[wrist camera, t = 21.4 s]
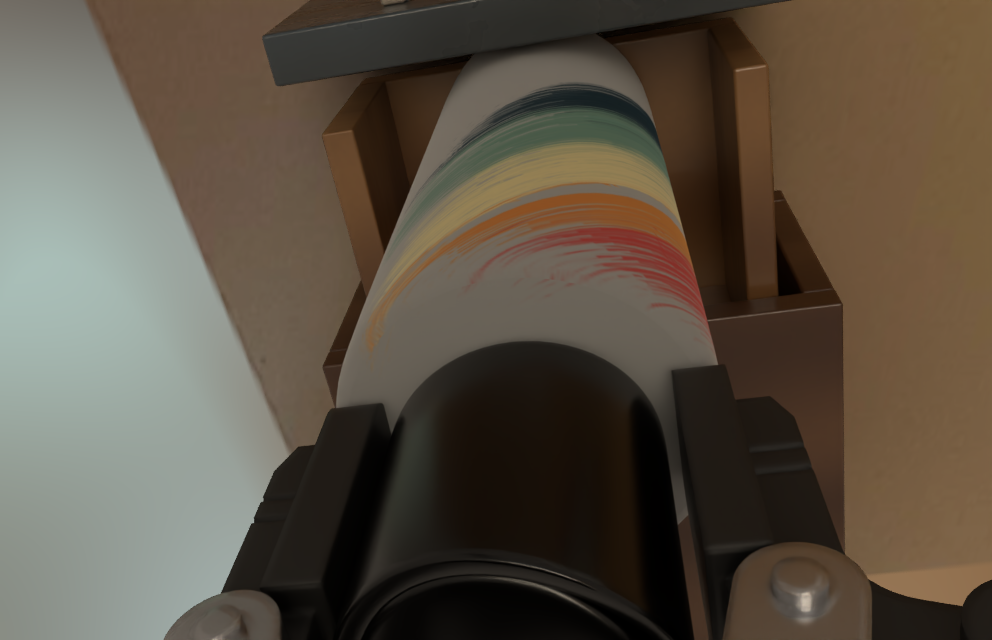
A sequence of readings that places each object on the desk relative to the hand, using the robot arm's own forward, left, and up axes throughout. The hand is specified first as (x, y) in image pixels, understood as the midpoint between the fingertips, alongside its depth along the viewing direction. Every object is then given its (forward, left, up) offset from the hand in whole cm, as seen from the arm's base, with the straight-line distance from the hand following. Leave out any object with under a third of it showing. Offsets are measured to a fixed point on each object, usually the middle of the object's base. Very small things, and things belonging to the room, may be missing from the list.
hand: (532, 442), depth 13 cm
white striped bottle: (0, 0, -15) cm, 15 cm away
